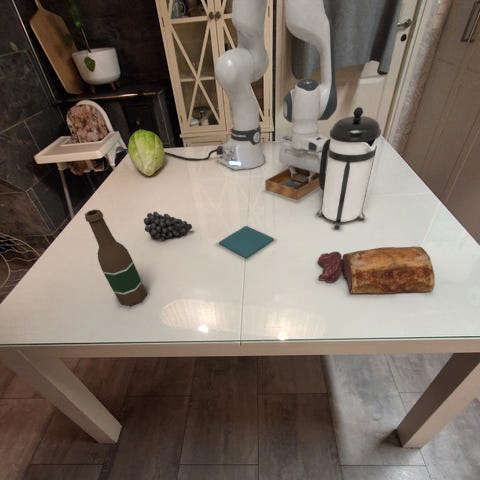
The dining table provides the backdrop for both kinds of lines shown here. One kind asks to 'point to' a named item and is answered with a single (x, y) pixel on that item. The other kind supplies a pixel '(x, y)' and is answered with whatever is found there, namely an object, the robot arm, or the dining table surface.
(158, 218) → the fruit
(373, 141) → the coffee press
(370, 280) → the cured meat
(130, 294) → the beer bottle
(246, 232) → the mat
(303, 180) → the walnut coaster
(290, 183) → the slate coaster
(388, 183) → the dining table surface
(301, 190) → the wooden tray
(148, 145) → the lettuce
